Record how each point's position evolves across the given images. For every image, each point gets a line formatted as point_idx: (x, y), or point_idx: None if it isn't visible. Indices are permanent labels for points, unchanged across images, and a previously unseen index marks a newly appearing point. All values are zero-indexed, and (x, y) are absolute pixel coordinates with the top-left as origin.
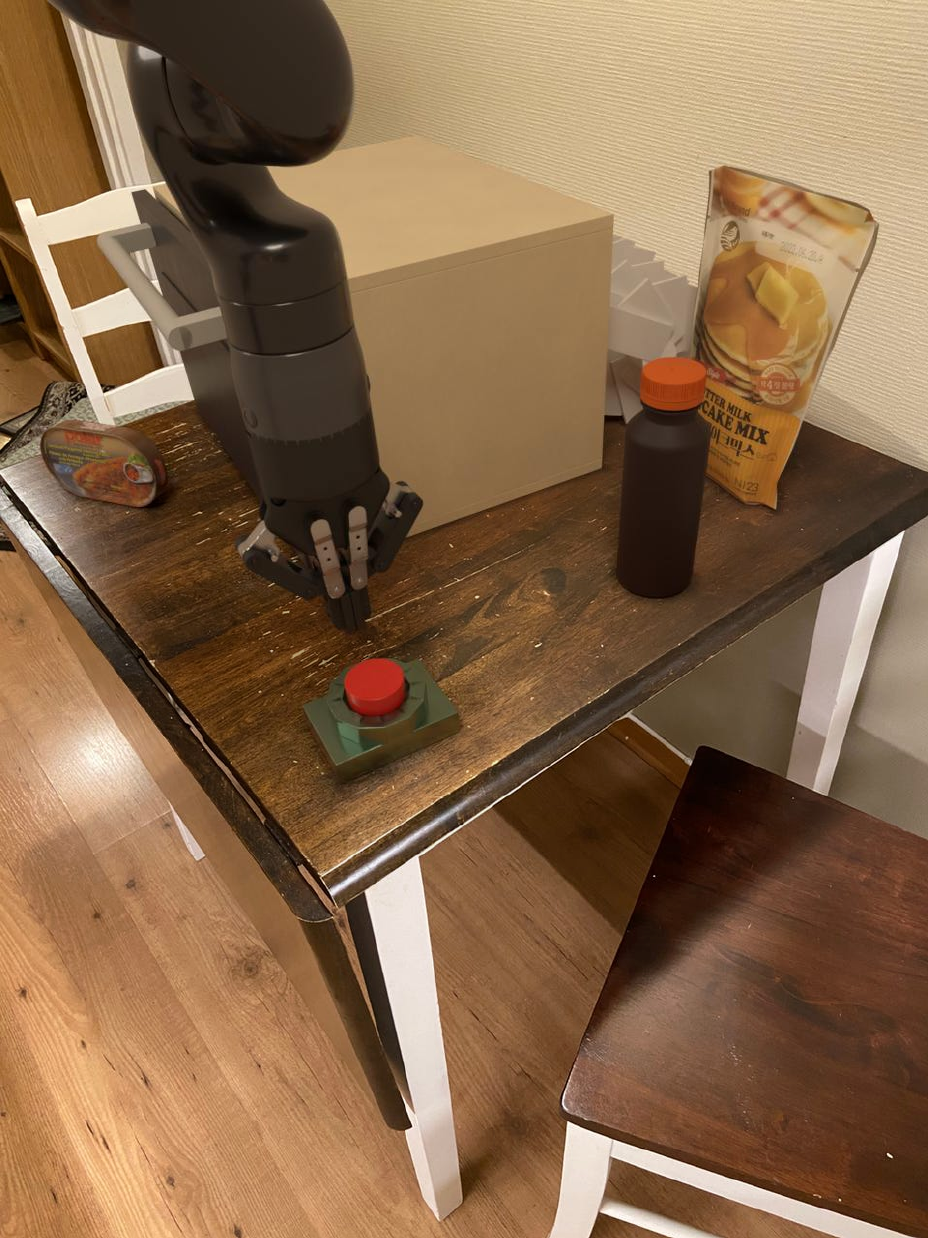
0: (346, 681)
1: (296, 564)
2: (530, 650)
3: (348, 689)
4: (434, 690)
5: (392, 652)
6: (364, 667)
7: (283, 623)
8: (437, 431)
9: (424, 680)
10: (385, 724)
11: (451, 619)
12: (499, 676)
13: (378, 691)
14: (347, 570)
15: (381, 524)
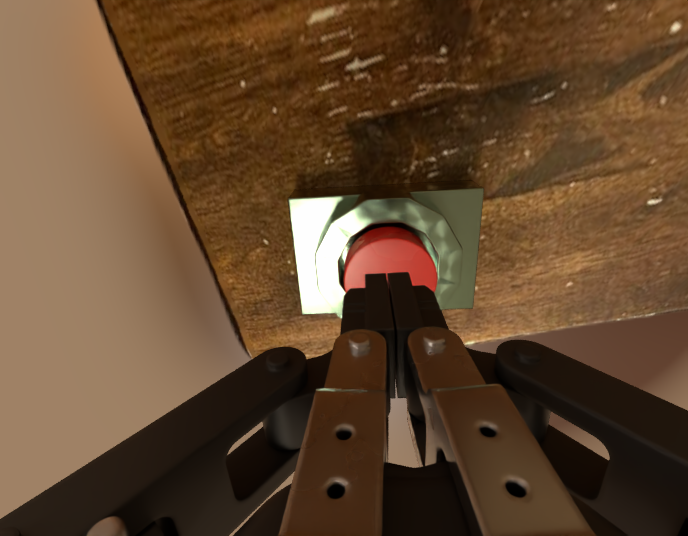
0: (349, 268)
1: (271, 404)
2: (636, 206)
3: (346, 284)
4: (467, 261)
5: (463, 101)
6: (387, 253)
7: None
8: None
9: (459, 283)
10: None
11: (594, 68)
12: (563, 231)
13: None
14: (419, 400)
15: (631, 478)
